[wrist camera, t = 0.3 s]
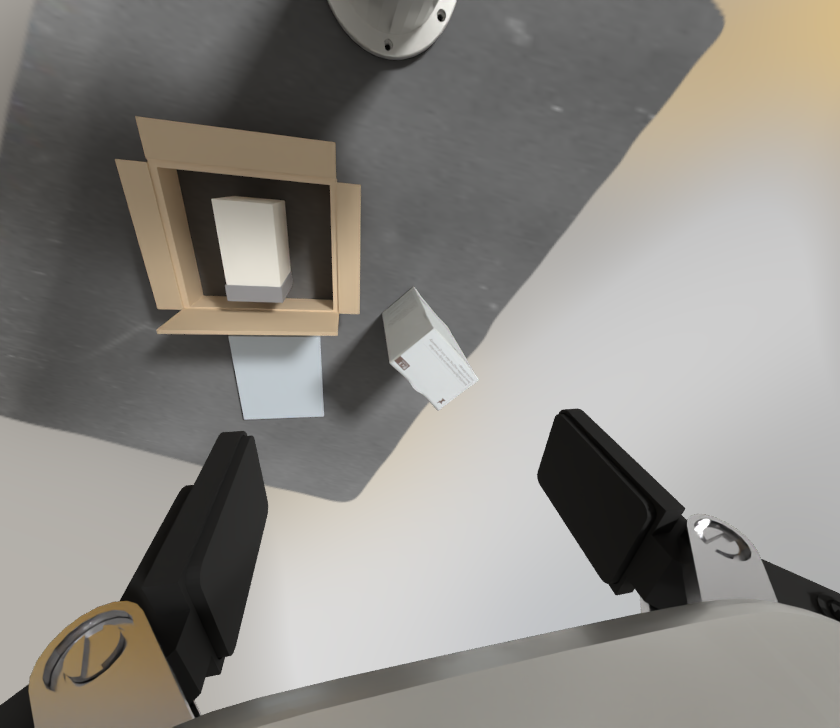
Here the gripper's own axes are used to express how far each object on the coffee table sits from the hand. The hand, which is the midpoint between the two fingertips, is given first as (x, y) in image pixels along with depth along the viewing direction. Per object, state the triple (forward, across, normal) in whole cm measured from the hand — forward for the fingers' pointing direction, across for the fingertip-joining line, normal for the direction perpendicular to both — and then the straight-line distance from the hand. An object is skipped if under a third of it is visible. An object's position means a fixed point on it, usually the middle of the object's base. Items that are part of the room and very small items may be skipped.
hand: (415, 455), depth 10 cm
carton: (+35, +11, -3) cm, 36 cm away
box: (+35, +11, -1) cm, 37 cm away
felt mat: (+35, +12, +17) cm, 41 cm away
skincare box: (+35, -7, +8) cm, 37 cm away
